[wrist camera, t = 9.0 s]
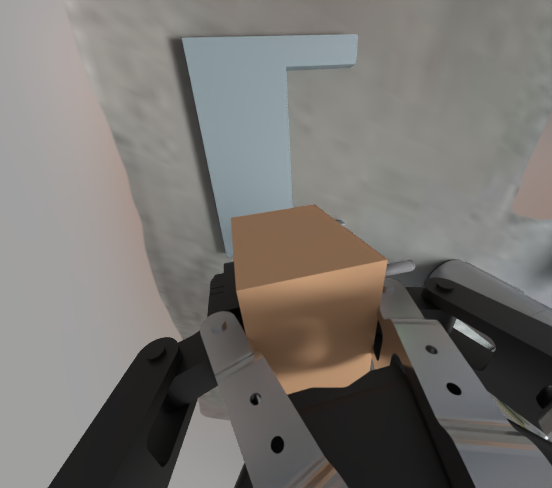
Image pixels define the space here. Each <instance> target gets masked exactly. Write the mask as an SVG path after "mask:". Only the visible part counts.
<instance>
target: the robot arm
mask: <svg viewBox="0 0 552 488" xmlns="http://www.w3.org/2000/svg"><path fill="white" fill-rule="evenodd" d="M377 318H378V322H377V328H376V334H375V340H374V345H372V348H371V356H372V359H373V363H374V367H375V370H372V371H369V372H368V373H366V374H365V375H364V376H362V377H361V378H359V379H358V380H356V381H355V382H353V383H352V384H350V385H349V386H347V387H342V388H341V387H312V388H308V389H305V390H301V391H298V392H294V393H291V394H286V392H285V391H284V389H283V387H282V386H281V384H280V382H279V381H278V379H277V378H276V376H275V374H274V373H273V371H272V369H271V368H270V366H269V364H268V363H267V361H266V360H265V358H264V356H263V355H262V353H261V352H260V351H259V350H258V351H255V349H254V348H253V346H252V344H251V343H250V341H249V339H248V337H246V332H245V328H244V323H243V319H242V315H241V310H240V306H239V301H238V297H237V292H236V282H235V268H234V262H230V263H225V264H224V273H222V274H217V275H215V276H214V278H213V279H212V280H211V284H210V296H209V305H208V315H207V318H206V319H205V320H204V321H203V322H202V324H201V326H200V330H199V331H198V332H197V333H196V334H194V335H192V336H191V337H189V338H187V339H185V340H183V341H181V342H179V343H177V341H176V340H175V339H173V338H170V337H164V338H160V339H157V340H155V341H153V342H151V343H149V344H148V345H146V346H145V347H144V348H143V349H142V350H141V351H140V352H139V353H138V355H137V356H136V358H135V359H134V361H133V362H132V364H131V365H130V367H129V368H128V370H127V371H126V373H125V374H124V376H123V377H122V378H121V380H120V382H119V383H118V384H117V386H116V388H115V389H114V390H113V392H112V393H111V395H110V396H109V398H108V399H107V401H106V403H105V404H104V405H103V407H102V408H101V410H100V411H99V413H98V414H97V416H96V417H95V418H94V420H93V422H92V423H91V424H90V426H89V427H88V429H87V430H86V432H85V433H84V435H83V436H82V438H81V439H80V441H79V442H78V444H77V445H76V447H75V448H74V450H73V451H72V453H71V454H70V456H69V457H68V458H67V460H66V461H65V463H64V464H63V466H62V467H61V469H60V471H59V472H58V473H57V475H56V476H55V478H54V479H53V481H52V482H51V484H50V485H49V487H48V488H167V487H168V484H169V481H170V479H171V476H172V473H173V470H174V467H175V464H176V461H177V458H178V455H179V452H180V449H181V446H182V443H183V441H184V437H185V435H186V432H187V429H188V426H189V423H190V420H191V417H192V414H193V411H194V408H195V405H196V402H197V399H198V397H200V396H202V395H203V394H205V393H207V392H208V391H210V390H211V389H213V388H215V387H216V386H218V387H219V390H220V392H221V395H222V398H223V401H224V404H225V407H226V410H227V413H228V416H229V418H230V421H231V424H232V427H233V430H234V433H235V436H236V439H237V441H238V444H239V447H240V450H241V453H242V456H243V459H244V461H245V463H244V465H243V468H242V470H241V472H240V475H239V477H238V480H237V482H236V485H235V487H234V488H552V309H551V308H549V307H547V306H546V305H544V304H542V303H540V302H538V301H536V300H534V299H532V298H530V297H528V296H527V295H525V294H524V292H523V291H522V290H520V289H518V288H516V287H514V286H512V285H510V284H508V283H506V282H504V281H503V280H501V279H499V278H497V277H495V276H493V275H491V274H489V273H487V272H485V271H483V270H481V269H479V268H477V267H475V266H473V265H472V264H470V263H464V262H462V261H459V260H451V261H448V262H445V263H444V264H442V265H440V266H439V267H438V268H436V269H435V270H434V271H433V272H432V274H431V275H430V276H429V278H428V279H426V280H425V282H424V286H423V288H418V287H405V286H404V285H403V284H402V283H401V282H399V281H397V280H395V279H392V278H388V277H385V279H384V285H383V291H382V297H381V303H380V306H378V310H377ZM456 318H457V319H459V320H461V321H462V322H463V323H465V324H466V325H467V326H468V327H470V328H471V329H472V330H474V331H475V332H476V333H477V334H479V335H480V336H481V337H483V338H484V339H485V340H486V341H488V342H489V343H490V344H492V345H493V346H494V347H495V348H496V349H495V351H494V352H492V351H490V350H489V349H487V348H485V347H484V346H482V345H480V344H479V343H477V342H476V341H474V340H472V339H471V338H469V337H467V336H466V335H464V334H463V333H461V332H459V331H458V330H456V329H454V328H453V326H454V324H455V321H456ZM488 392H489V393H491V394H492V395H493V396H495V397H496V398H497V399H499V400H500V401H501V402H503V403H504V404H505V405H507V406H508V407H510V408H511V409H512V410H514V411H515V412H516V413H518V414H519V415H520V416H522V417H523V418H524V419H526V420H527V421H528V422H530V423H531V424H532V425H534V426H535V427H537V428H538V429H539V430H541V431H542V432H543V433H545V434H546V436H547V437H548V439H547V440H546V439H544V438H543V437H541V436H539V435H537V434H535V433H533V432H531V431H529V430H528V429H526V428H524V427H522V426H520V425H518V424H516V423H514V422H512V421H511V420H509V419H507V418H506V417H505V416H504V415H503V413H502V412H501V410H500V409H499V407H498V406H497V404H496V403H495V402H494V400H493V399H492V397H491V396H490V394H489V393H488Z"/></svg>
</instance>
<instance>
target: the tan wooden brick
mask: <svg viewBox="0 0 552 488" xmlns="http://www.w3.org/2000/svg"><path fill="white" fill-rule="evenodd" d="M231 229H232V242H233V255H234V268H235V282H236V292H237V297H238V301H239V306H240V310H241V315H242V319H243V323H244V328H245V332H246V337H248V339H249V341H250V343H251V344H252V346H253V348H254V349H255V351H258V350H259V351H260V352H261V353H262V355H263V356H264V358H265V360H266V361H267V363H268V364H269V366H270V368H271V369H272V371H273V373H274V374H275V376H276V378H277V379H278V381H279V382H280V384H281V386H282V387H283V389H284V391H285V392H286V394H291V393H294V392H298V391H301V390H305V389H308V388H312V387H341V388H342V387H347V386H349V385H350V384H352V383H353V382H355V381H356V380H358V379H359V378H361V377H362V376H364V375H365V374H366V373H368V372H369V370H370V364H371V358H372V356H371V348H372V345H374V340H375V334H376V328H377V322H378V318H377V310H378V306H380V303H381V297H382V291H383V285H384V279H385V273H386V267H387V261H388V259H386V258H385V257H384V256H382V255H381V254H380V253H378V252H377V251H376V250H374V249H373V248H372V247H370V246H369V245H368V244H366V243H365V242H364V241H362V240H361V239H360V238H358V237H357V236H356V235H354V234H353V233H352V232H350V231H349V230H348V229H347V228H345V227H344V226H343V225H341V224H340V223H339V222H337V221H336V220H335V219H333V218H332V217H331V216H329V215H328V214H327V213H325V212H324V211H323V210H321V209H320V208H319V207H317V206H316V205H315V204H314V205H308V206H301V207H295V208H289V209H283V210H276V211H270V212H264V213H257V214H251V215H245V216H238V217H232V218H231Z"/></svg>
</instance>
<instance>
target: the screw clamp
mask: <svg viewBox="0 0 552 488" xmlns="http://www.w3.org/2000/svg"><path fill="white" fill-rule="evenodd" d="M182 41H183V46H184V51H185V56H186V61H187V66H188V71H189V76H190V80H191V85H192V90H193V95H194V100H195V105H196V110H197V114H198V119H199V124H200V129H201V134H202V139H203V144H204V149H205V153H206V158H207V163H208V168H209V173H210V178H211V183H212V187H213V192H214V197H215V202H216V207H217V212H218V217H219V221H220V226H221V231H222V236H223V241H224V246H225V251H226V256H227V257H233V256H234V255H233V242H232V229H231V218H232V217H238V216H245V215H251V214H257V213H264V212H270V211H276V210H283V209H289V208H292V186H291V164H290V141H289V118H288V96H287V73H286V70H309V69H332V68H350V67H352V66H353V65H355V64H356V58H357V43H358V34H343V35H293V36H242V37H192V38H182ZM337 222H339V223H340V224H341V225H343V226H344V227H345V223H344V222H342V221H341V220H337ZM414 269H415V263H414V262H413V261H410V260H408V261H402V262H397V263H391V264H387V267H386V273H385V276H389V275H394V274H399V273H404V272H410V271H413V270H414Z"/></svg>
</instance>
